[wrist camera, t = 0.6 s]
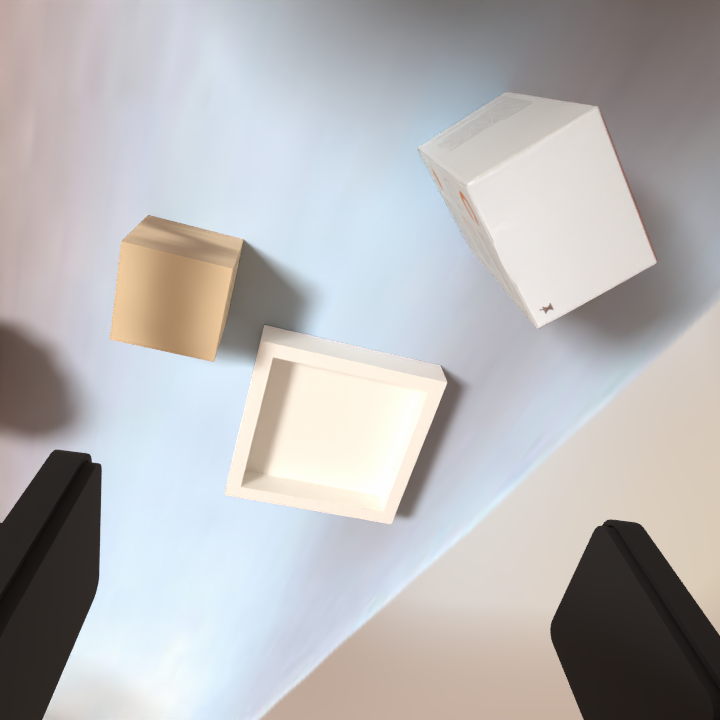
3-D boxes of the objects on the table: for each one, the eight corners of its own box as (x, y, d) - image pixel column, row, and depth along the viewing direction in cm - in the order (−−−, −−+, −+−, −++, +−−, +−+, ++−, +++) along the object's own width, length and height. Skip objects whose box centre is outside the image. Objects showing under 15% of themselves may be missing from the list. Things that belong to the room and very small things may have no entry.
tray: (229, 473, 47) (224, 494, 45) (264, 324, 41) (261, 340, 39) (387, 502, 49) (391, 524, 47) (440, 365, 44) (447, 382, 42)
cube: (136, 301, 40) (110, 339, 35) (148, 214, 38) (121, 241, 32) (226, 322, 41) (213, 362, 36) (243, 239, 39) (232, 268, 34)
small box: (558, 203, 39) (662, 266, 28) (472, 254, 40) (536, 335, 29) (507, 86, 36) (600, 102, 24) (414, 145, 37) (460, 187, 25)
